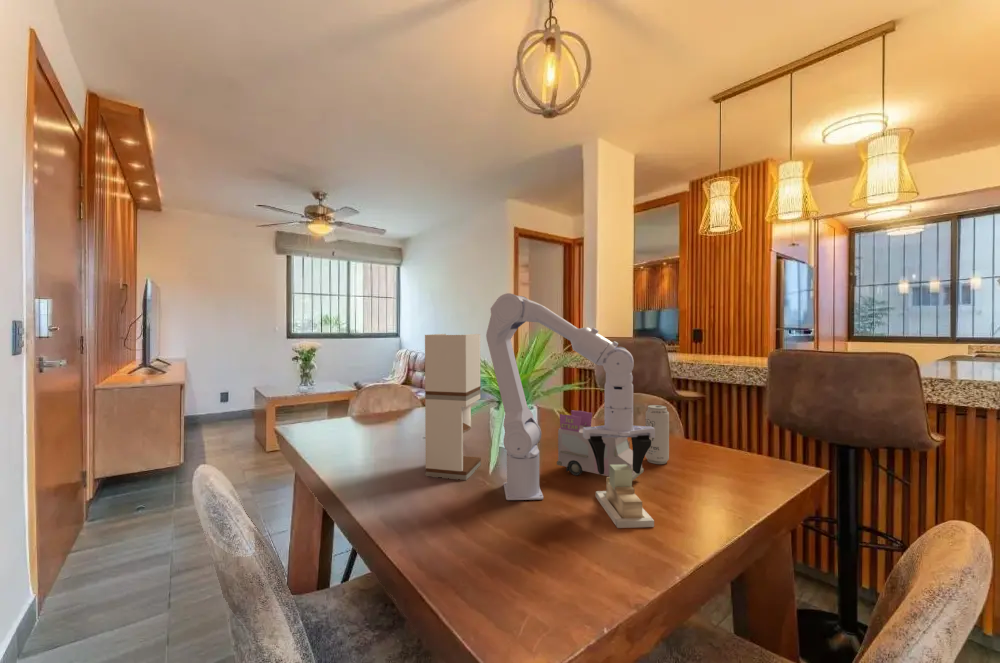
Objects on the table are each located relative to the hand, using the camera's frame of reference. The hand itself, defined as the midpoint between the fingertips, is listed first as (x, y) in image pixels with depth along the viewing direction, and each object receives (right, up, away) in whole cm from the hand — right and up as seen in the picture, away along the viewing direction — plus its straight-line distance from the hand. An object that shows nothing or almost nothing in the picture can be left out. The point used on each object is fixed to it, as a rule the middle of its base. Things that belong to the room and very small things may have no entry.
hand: (618, 472), depth 89 cm
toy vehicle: (0, -7, +18) cm, 19 cm away
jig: (0, -7, -2) cm, 7 cm away
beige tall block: (-36, -7, +22) cm, 43 cm away
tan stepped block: (0, -7, -3) cm, 8 cm away
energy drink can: (+18, -7, +29) cm, 35 cm away
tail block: (0, -3, -1) cm, 3 cm away
